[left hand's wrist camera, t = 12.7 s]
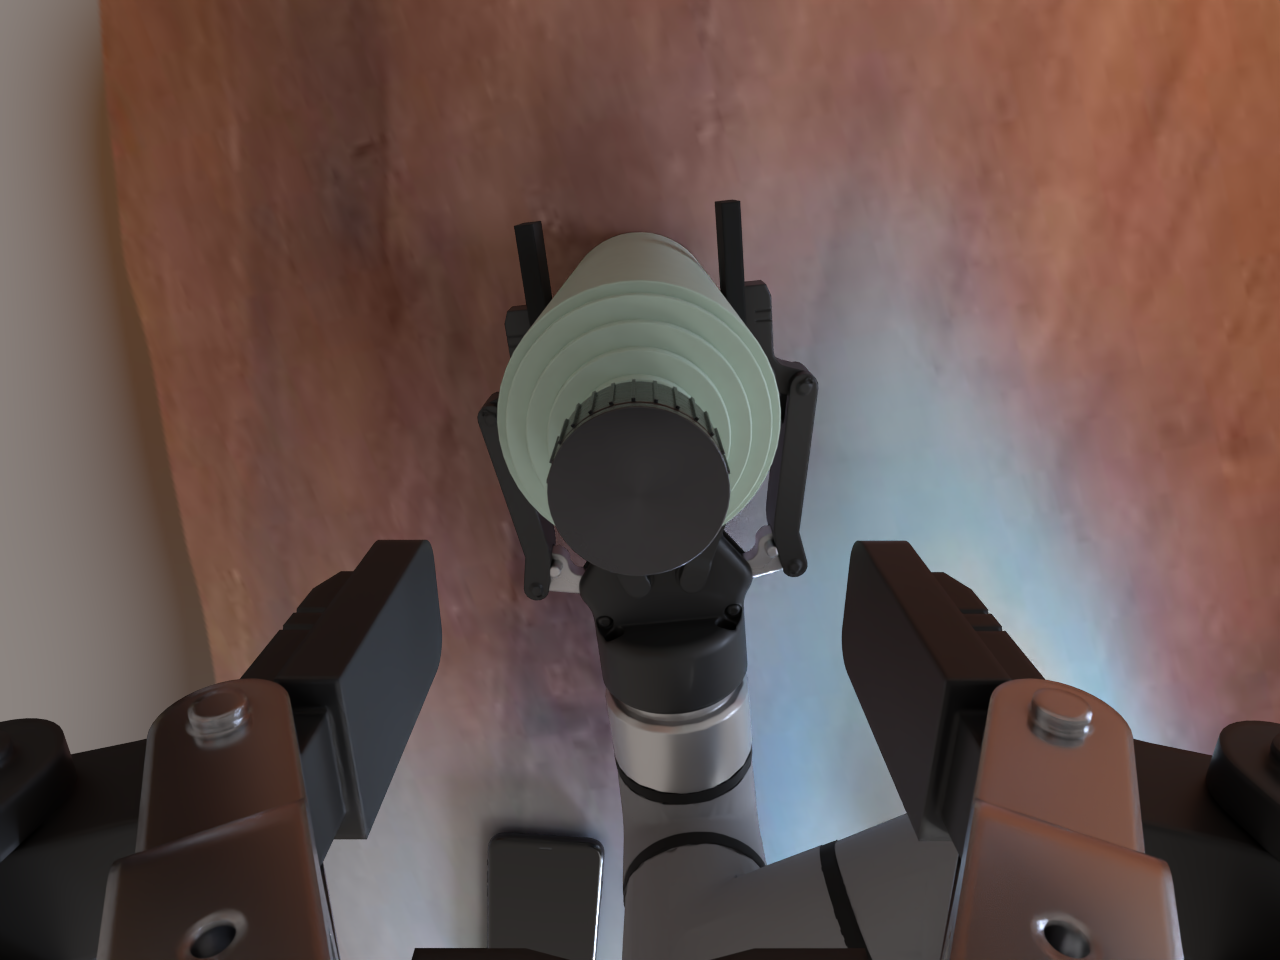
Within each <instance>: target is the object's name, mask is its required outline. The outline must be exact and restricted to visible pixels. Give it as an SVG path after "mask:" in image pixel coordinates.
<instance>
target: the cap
mask: <svg viewBox="0 0 1280 960" xmlns="http://www.w3.org/2000/svg"><path fill="white" fill-rule="evenodd" d="M549 463H551V467H550V470H549V473H548V477H547V480H546V483H547V498H548V505H549V510H550V514H551V517H552V519H553V522H554V524H555V526H556V528H557V530H558V532H559V533H560V535H561V536H562V538H563V539H564V540H565V542H566V543H567V544H568V545H569V546H570V547H571V548H572V549H573V550H574V551H575V552H576V553H577V554H578V555H580V556H581V557H582V558H583V559H585V560H587V561H588V562H590V563H591V564H593V565H595V566H597V567H600V568H602V569H604V570H607V571H610V572H613V573H618V574H623V575H633V576H645V575H654V574H660V573H664V572H667V571H671V570H673V569H676V568H678V567H680V566H682V565H684V564H686V563H688V562H689V561H691V560H693V559H694V558H695V557H697V556H698V555H699V554H701V553H702V552H703V551H704V550H705V549H706V548H707V547H708V546H709V545H710V543H711V542H712V541H713V540H714V539H715V537H716V536H717V534H718V532H719V531H720V529H721V527H722V525H723V523H724V520H725V518H726V515H727V511H728V508H729V501H730V493H731V491H730V481H729V474H730V469H729V466H728V462H727V459H726V456H725V451H724V448H723V445H722V442H721V438H720V435H719V432H718V429H717V428H715V429H714V427H713V425H712V423H711V421H710V417H709V414H708V412H707V411H705V412H704V411H703V410H702V409H701V408H700V407H699V406H698V405H697V404H696V403H695V399H694V398H693V397H691V398H689V397H687V396H686V395H685V394H683V393H681V392H679V391H677V387H674V386H673V388H671V387H668V386H665V385H662V384H658V383H657V381H654V380H653V382H644V381H636V379H632V382H625V383H619V384H616V385H615V383H611V386H609V387H607V388H604V389H602V390H600V391H598V392H596V391H593V392H592V396H590V397H589V398H587V399H586V400H585V401H584V402H583V403H581V404H580V403H578V404H577V405H576V408H575V411H574V412H573V413H572V415H571V416H570V418H569V419H567V418H566V419H565V421H564V423H563V427H562V430H561V433H560V436H557V440H556V443H555V446H554V449H553V452H552V455H551V458H550V461H549Z"/></svg>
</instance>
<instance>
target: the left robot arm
mask: <svg viewBox="0 0 1280 960" xmlns="http://www.w3.org/2000/svg"><path fill="white" fill-rule="evenodd" d="M441 648H442V628H441V618H440V609H439V600H438V591H437V582H436V573H435V564H434V556H433V550H432V547H431V544H430V542H429V541H428V540H377V541H376V542H375V543H374V544H373V546H372V547H371V548H370V550H369V551H368V552H367V554H366V555H365V556H364V558H363V559H362V561H361V562H360V563H359V565H358V566H357V567H356V569H355V570H354V571H341V572H339V573H337V574H336V575H334V576H333V577H331V578H329V579H328V580H326V581H324V582H323V583H321V584H320V585H318V586H316V587H315V588H313V589H312V591H311V592H310V593H309V594H308V595H307V597H306V598H305V599H304V600H303V602H302V603H301V604H300V605H299V607H298V608H297V613H293V614H292V615H291V616H290V618H289V619H288V620H287V621H286V623H285V624H284V625H283V630H279V631H278V633H277V634H276V635H275V636H274V637H273V639H272V640H271V641H270V642H269V644H268V645H267V646H266V647H265V649H264V650H263V651H262V652H261V654H260V655H259V656H258V657H257V658H256V660H255V661H254V662H253V663H252V665H251V666H250V667H249V668H248V670H247V671H246V672H245V673H244V675H243V676H242V677H241V678H240V679H238V680H230V681H226V682H221V683H218V684H214V685H211V686H208V687H205V688H203V689H200V690H197V691H195V692H193V693H191V694H189V695H187V696H185V697H183V698H182V699H180V700H178V701H177V702H175V703H174V704H172V705H171V706H170V707H168V708H167V709H166V710H165V711H164V712H162V713H161V714H160V715H159V716H158V717H157V719H156V720H155V721H154V722H153V724H152V726H151V727H150V729H149V732H148V736H147V739H144V740H139V741H135V742H130V743H125V744H120V745H115V746H110V747H105V748H100V749H95V750H90V751H86V752H81V753H76V754H70V751H69V748H68V745H67V742H66V739H65V736H64V733H63V731H62V729H61V728H60V726H58V725H57V724H56V723H54V722H51V721H48V720H44V719H37V718H26V719H15V720H9V721H3V722H0V960H341V958H340V952H339V947H338V941H337V935H336V930H335V924H334V918H333V913H332V907H331V901H330V895H329V890H328V884H327V878H326V873H325V869H324V864H323V861H324V858H325V856H326V854H327V852H328V850H329V848H330V846H331V843H332V841H333V839H367V837H368V835H369V832H370V830H371V828H372V825H373V823H374V821H375V818H376V816H377V813H378V811H379V809H380V806H381V804H382V801H383V799H384V797H385V794H386V792H387V789H388V787H389V785H390V782H391V780H392V777H393V775H394V773H395V770H396V768H397V765H398V763H399V761H400V758H401V756H402V753H403V751H404V749H405V746H406V744H407V741H408V739H409V737H410V734H411V732H412V730H413V727H414V725H415V722H416V720H417V718H418V715H419V713H420V710H421V708H422V706H423V703H424V701H425V698H426V696H427V694H428V691H429V689H430V686H431V684H432V682H433V679H434V677H435V674H436V672H437V669H438V666H439V662H440V656H441ZM842 651H843V659H844V664H845V668H846V671H847V673H848V676H849V678H850V680H851V683H852V685H853V687H854V690H855V692H856V695H857V697H858V699H859V702H860V704H861V706H862V709H863V711H864V713H865V716H866V718H867V720H868V723H869V725H870V728H871V730H872V732H873V735H874V737H875V739H876V742H877V744H878V746H879V749H880V751H881V753H882V756H883V758H884V760H885V763H886V765H887V768H888V770H889V772H890V775H891V777H892V779H893V782H894V784H895V786H896V789H897V791H898V793H899V796H900V798H901V801H902V803H903V805H904V808H905V810H906V812H907V815H908V817H909V819H910V822H911V824H912V826H913V829H914V831H915V834H916V836H917V838H918V841H952V842H953V844H954V846H955V848H956V850H957V852H958V859H957V864H956V869H955V873H954V878H953V884H952V890H951V895H950V901H949V907H948V912H947V918H946V924H945V930H944V935H943V941H942V947H941V952H940V958H939V960H1280V724H1278V723H1273V722H1265V721H1241V722H1236V723H1233V724H1230V725H1228V726H1226V727H1225V728H1224V729H1223V730H1222V731H1221V733H1220V735H1219V738H1218V741H1217V744H1216V747H1215V750H1214V753H1213V756H1212V755H1207V754H1202V753H1197V752H1192V751H1187V750H1182V749H1177V748H1172V747H1167V746H1163V745H1158V744H1153V743H1148V742H1144V741H1140V740H1136V739H1133V736H1132V732H1131V729H1130V727H1129V726H1128V724H1127V722H1126V721H1125V720H1124V719H1123V717H1122V716H1121V715H1120V714H1119V713H1118V712H1117V711H1115V710H1114V709H1113V708H1112V707H1110V706H1109V705H1108V704H1106V703H1105V702H1103V701H1102V700H1100V699H1098V698H1097V697H1095V696H1093V695H1091V694H1089V693H1087V692H1085V691H1083V690H1080V689H1077V688H1075V687H1072V686H1069V685H1066V684H1062V683H1059V682H1054V681H1050V680H1045V679H1044V677H1043V676H1042V675H1041V674H1040V673H1039V671H1038V670H1037V669H1036V668H1035V666H1034V665H1033V664H1032V663H1031V662H1030V660H1029V659H1028V658H1027V657H1026V655H1025V654H1024V653H1023V652H1022V651H1021V649H1020V648H1019V647H1018V646H1017V644H1016V643H1015V642H1014V641H1013V640H1012V638H1011V637H1010V636H1009V635H1008V633H1007V632H1006V631H1002V626H1001V625H1000V624H999V622H998V621H997V620H996V619H995V618H994V616H993V615H992V614H988V609H987V608H986V607H985V605H984V604H983V603H982V602H981V600H980V599H979V598H978V597H977V596H976V594H975V593H974V592H973V591H972V590H971V589H970V588H968V587H967V586H965V585H963V584H962V583H960V582H958V581H957V580H955V579H954V578H952V577H950V576H949V575H947V574H946V573H944V572H931V571H930V570H929V569H928V567H927V566H926V565H925V563H924V562H923V561H922V559H921V558H920V557H919V555H918V554H917V553H916V551H915V550H914V549H913V547H912V546H911V545H910V544H909V542H907V541H856V542H855V543H854V545H853V548H852V551H851V556H850V565H849V573H848V582H847V591H846V600H845V609H844V618H843V626H842ZM412 960H569V959H565V958H561V957H557V956H554V955H550V954H546V953H542V952H538V951H534V950H531V949H527V948H415V950H414V953H413V957H412ZM711 960H868V957H867V953H866V950H865V948H753V949H749V950H746V951H742V952H738V953H734V954H730V955H727V956H723V957H719V958H715V959H711Z"/></svg>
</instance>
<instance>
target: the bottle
mask: <svg viewBox="0 0 1280 960" xmlns="http://www.w3.org/2000/svg"><path fill="white" fill-rule="evenodd" d="M632 379H636V381H644V382H653V380H654V381H657V383H658V384H662V385H665V386H668V387H671V388H673V386H674V387H677V391H679V392H681V393H683V394H685V395H686V396H687V397H689V398H691V397H693V398H694V399H695V403H696V404H697V405H698V406H699V407H700V408H701V409H702V410H703V411H704V412H705V411H707V412H708V414H709V417H710V421H711V423H712V425H713V427H714V429H715V428H717V429H718V432H719V435H720V438H721V442H722V445H723V448H724V451H725V456H726V459H727V462H728V466H729V469H730V474H729V481H730V491H731V493H730V501H729V508H728V511H727V515H726V518H725V520H724V523H723V525H724V524H726V523H727V522H729V521H730V520H731V519H732V518H734V517H735V516H736V515H737V514H738V513H739V512H740V511H741V510H742V509H743V508H744V507H745V506H746V505H747V504H748V502H749V501H750V500H751V499H752V497H753V496H754V495H755V494H756V492H757V491H758V489H759V487H760V486H761V484H762V483H763V481H764V480H765V478H766V475H767V473H768V471H769V469H770V467H771V465H772V462H773V459H774V456H775V452H776V449H777V446H778V440H779V434H780V422H781V408H780V399H779V391H778V387H777V384H776V380H775V376H774V373H773V371H772V368H771V366H770V363H769V361H768V358H767V356H766V355H765V353H764V351H763V350H762V348H761V346H760V344H759V343H758V341H757V340H756V338H755V337H754V336H753V334H752V333H751V332H750V330H749V329H748V328H747V326H746V325H745V324H744V322H743V321H742V320H741V318H740V317H739V316H738V314H737V313H736V312H735V310H734V309H733V308H732V306H731V305H730V304H729V302H728V301H727V300H726V298H725V297H724V296H723V294H722V293H721V292H720V290H719V289H718V288H717V286H716V285H715V284H714V282H713V281H712V280H711V278H710V277H709V276H708V274H707V273H706V272H705V270H704V269H703V268H702V266H701V265H700V264H699V262H698V261H697V260H696V259H695V257H694V256H693V255H692V254H691V253H690V252H689V251H688V250H687V249H685V248H684V247H683V246H681V245H680V244H679V243H677V242H675V241H673V240H671V239H669V238H667V237H664V236H661V235H657V234H653V233H646V232H632V233H626V234H621V235H618V236H615V237H612V238H610V239H608V240H606V241H604V242H602V243H601V244H599V245H598V246H596V247H595V248H594V249H592V250H591V251H590V252H589V253H588V254H587V255H586V256H585V257H584V258H583V260H582V261H581V262H580V263H579V265H578V266H577V267H576V269H575V270H574V271H573V272H572V274H571V275H570V276H569V278H568V279H567V280H566V282H565V283H564V284H563V286H562V287H561V288H560V290H559V291H558V292H557V293H556V295H555V296H554V297H553V299H552V300H551V301H550V303H549V304H548V305H547V307H546V308H545V309H544V310H543V312H542V313H541V314H540V316H539V317H538V318H537V320H536V321H535V322H534V324H533V325H532V326H531V328H530V329H529V330H528V331H527V333H526V334H525V335H524V337H523V338H522V340H521V341H520V343H519V344H518V346H517V348H516V349H515V351H514V352H513V354H512V357H511V359H510V361H509V363H508V365H507V367H506V370H505V373H504V376H503V380H502V383H501V386H500V392H499V398H498V408H497V425H498V433H499V441H500V445H501V449H502V453H503V456H504V459H505V462H506V464H507V467H508V469H509V471H510V474H511V475H512V477H513V479H514V481H515V483H516V484H517V486H518V488H519V489H520V491H521V492H522V493H523V495H524V496H525V497H526V499H527V500H528V501H529V503H530V504H531V505H532V506H533V507H534V508H535V509H536V510H537V511H538V512H539V513H540V514H541V515H542V516H543V517H545V518H546V519H547V520H548V521H550V522H551V523H552V524H553V525H555V524H554V522H553V519H552V517H551V514H550V510H549V505H548V498H547V483H546V480H547V477H548V473H549V470H550V467H551V463H549V461H550V458H551V455H552V452H553V449H554V446H555V443H556V440H557V436H560V433H561V430H562V427H563V423H564V421H565V419H566V418H567V419H569V418H570V416H571V415H572V413H573V412H574V411H575V408H576V405H577V404H578V403H580V404H581V403H583V402H584V401H585V400H586V399H587V398H589V397H590V396H592V392H593V391H596V392H598V391H600V390H602V389H604V388H607V387H609V386H611V383H615V385H616V384H619V383H625V382H632ZM723 525H722V526H723Z"/></svg>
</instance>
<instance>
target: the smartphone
mask: <svg viewBox="0 0 1280 960" xmlns="http://www.w3.org/2000/svg"><path fill="white" fill-rule="evenodd" d="M487 865H488V872H487V883H488V886H487V897H488V943H487V948H527V949H531V950H534V951H538V952H542V953H546V954H550V955H554V956H557V957H561V958H565V959H569V960H596V951H597V939H598V926H599V914H600V902H601V895H602V883H603V881H602V877H603V865H604V848H603V845H602V844H601V843H600V842H599V841H598V840H596V839H593V838H585V837H569V836H553V835H536V834H519V833H499V834H496V835H495V836H493V837H492V838H491V840H490V842H489V845H488V860H487Z"/></svg>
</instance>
